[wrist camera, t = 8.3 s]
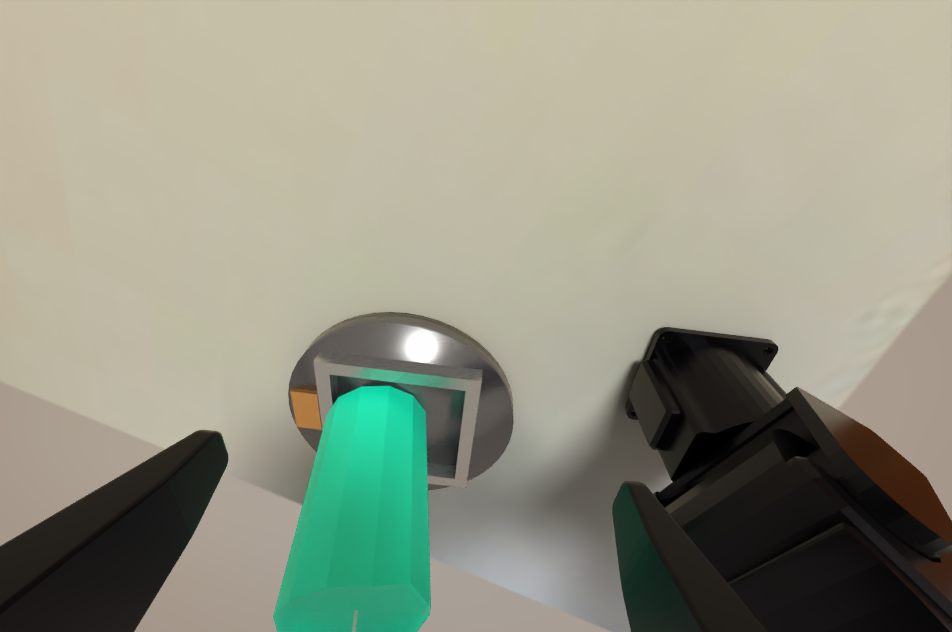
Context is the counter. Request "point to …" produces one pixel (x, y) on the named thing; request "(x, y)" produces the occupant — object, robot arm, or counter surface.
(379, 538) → the candle
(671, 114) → the counter surface
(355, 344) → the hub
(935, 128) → the counter surface
